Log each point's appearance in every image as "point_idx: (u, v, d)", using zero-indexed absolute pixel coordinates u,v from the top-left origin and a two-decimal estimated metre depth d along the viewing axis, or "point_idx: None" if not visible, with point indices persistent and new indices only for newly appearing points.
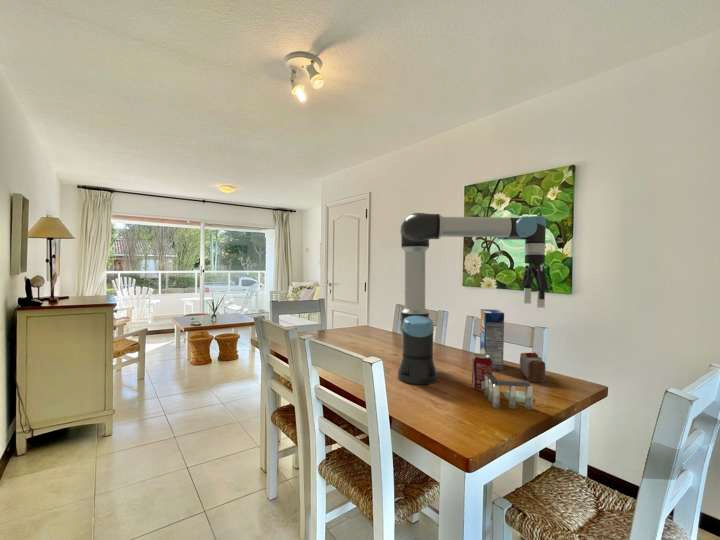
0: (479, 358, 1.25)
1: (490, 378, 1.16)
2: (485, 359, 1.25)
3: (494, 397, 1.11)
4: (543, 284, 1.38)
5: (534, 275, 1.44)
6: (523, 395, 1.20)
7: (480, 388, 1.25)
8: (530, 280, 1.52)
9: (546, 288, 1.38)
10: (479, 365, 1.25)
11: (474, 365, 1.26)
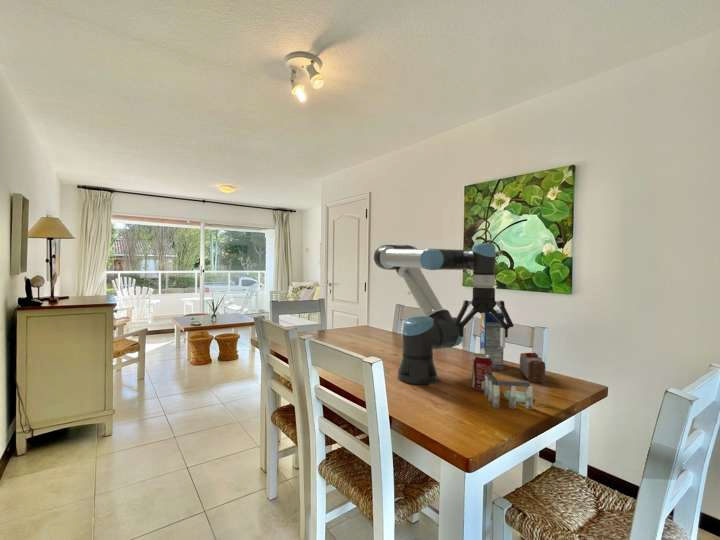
0: (479, 358, 1.25)
1: (490, 378, 1.16)
2: (485, 359, 1.25)
3: (494, 397, 1.11)
4: (456, 319, 1.28)
5: None
6: (523, 395, 1.20)
7: (480, 388, 1.25)
8: (496, 318, 1.27)
9: (455, 324, 1.27)
10: (479, 365, 1.25)
11: (474, 365, 1.26)
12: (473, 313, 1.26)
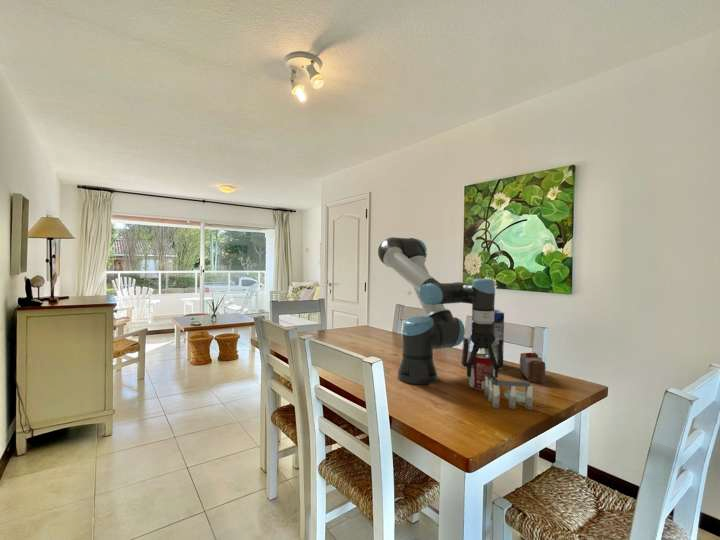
0: (479, 358, 1.25)
1: (490, 378, 1.16)
2: (485, 359, 1.25)
3: (494, 397, 1.11)
4: (462, 359, 1.28)
5: None
6: (523, 395, 1.20)
7: (480, 388, 1.25)
8: (490, 355, 1.27)
9: (463, 365, 1.27)
10: (479, 365, 1.25)
11: (474, 365, 1.26)
12: (476, 350, 1.26)
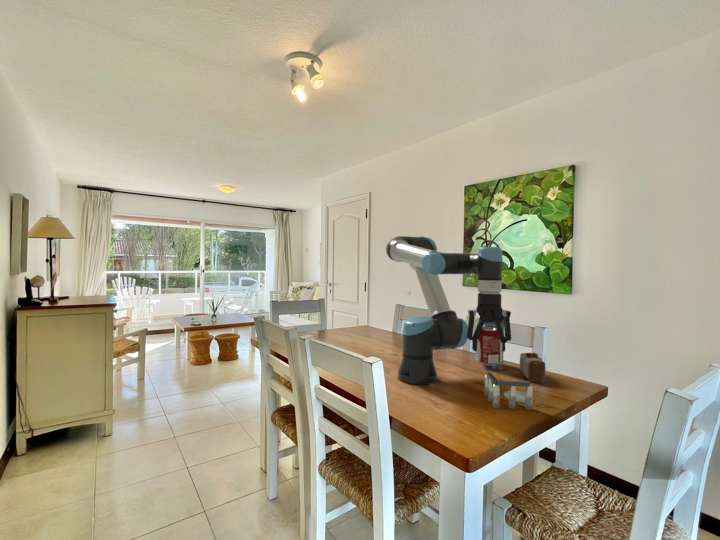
0: (485, 330, 1.18)
1: (490, 378, 1.16)
2: (492, 331, 1.18)
3: (494, 397, 1.11)
4: (467, 333, 1.21)
5: None
6: (523, 395, 1.20)
7: (487, 362, 1.17)
8: (497, 328, 1.20)
9: None
10: (486, 338, 1.18)
11: (481, 338, 1.19)
12: (482, 323, 1.19)
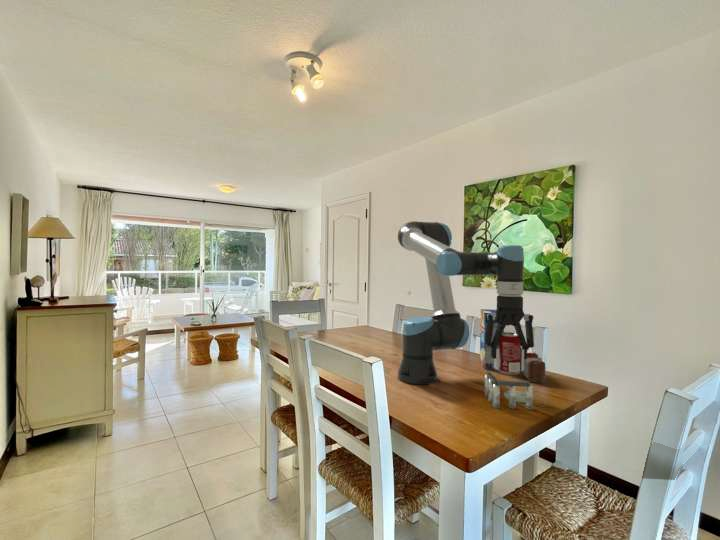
0: (506, 336, 1.09)
1: (490, 378, 1.16)
2: (513, 337, 1.08)
3: (494, 397, 1.11)
4: (486, 338, 1.12)
5: None
6: (523, 395, 1.20)
7: (507, 371, 1.08)
8: None
9: (487, 344, 1.11)
10: (506, 344, 1.08)
11: (500, 344, 1.10)
12: (502, 328, 1.10)
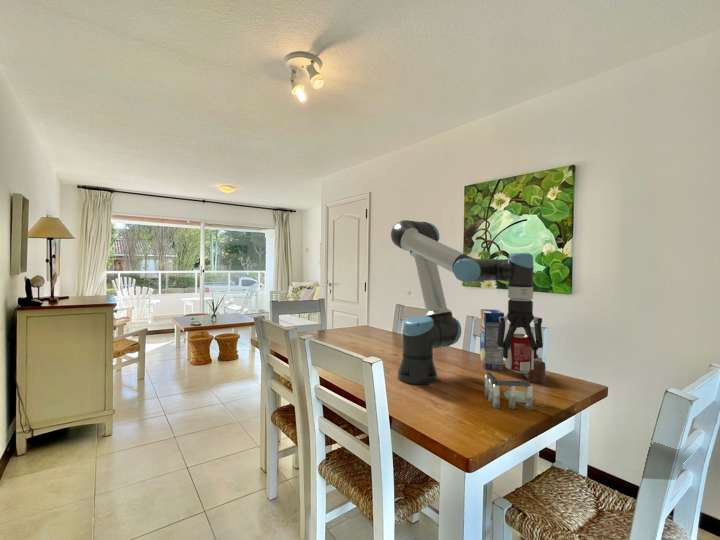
0: (517, 338, 1.17)
1: (490, 378, 1.16)
2: (523, 339, 1.16)
3: (494, 397, 1.11)
4: (498, 340, 1.20)
5: (509, 326, 1.21)
6: (523, 395, 1.20)
7: (518, 370, 1.16)
8: (528, 335, 1.19)
9: (499, 345, 1.19)
10: (517, 345, 1.16)
11: (512, 345, 1.18)
12: (513, 330, 1.18)
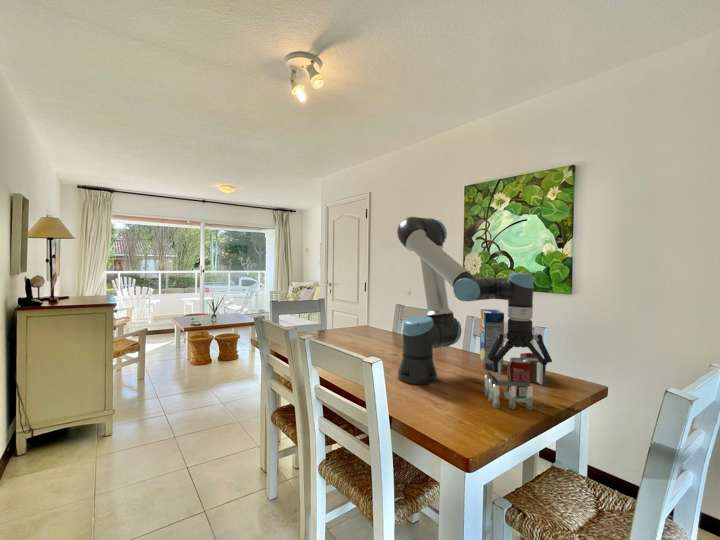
0: (516, 362, 1.17)
1: (490, 378, 1.16)
2: (523, 364, 1.17)
3: (494, 397, 1.11)
4: (490, 353, 1.20)
5: None
6: None
7: (517, 395, 1.17)
8: (533, 352, 1.19)
9: (489, 359, 1.19)
10: (516, 370, 1.17)
11: (511, 370, 1.18)
12: (509, 347, 1.18)
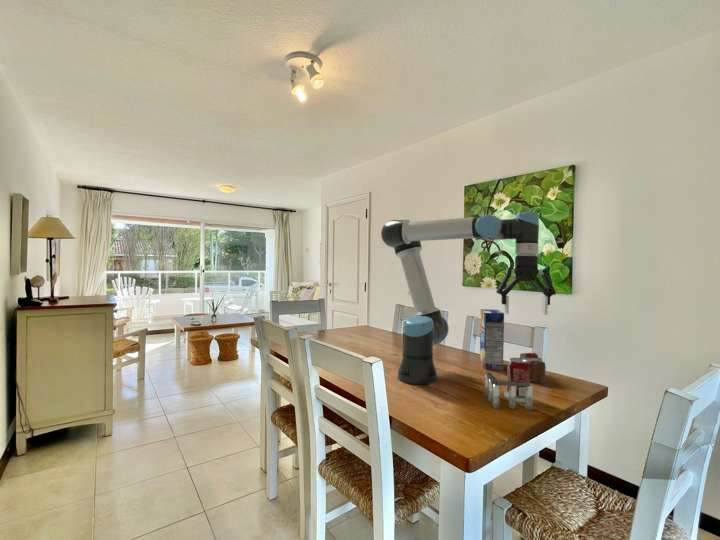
0: (516, 363, 1.17)
1: (490, 378, 1.16)
2: (523, 364, 1.17)
3: (494, 397, 1.11)
4: (498, 288, 1.30)
5: (513, 279, 1.31)
6: None
7: (517, 395, 1.17)
8: (538, 286, 1.29)
9: (498, 292, 1.29)
10: (516, 370, 1.17)
11: (511, 370, 1.18)
12: (516, 281, 1.28)
